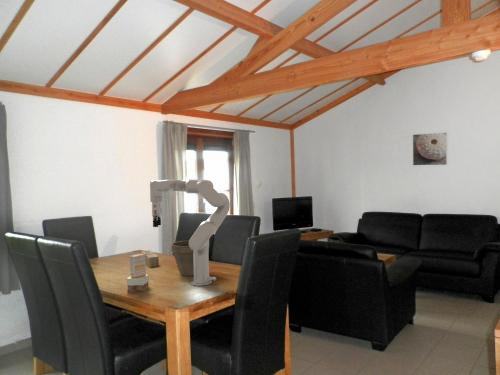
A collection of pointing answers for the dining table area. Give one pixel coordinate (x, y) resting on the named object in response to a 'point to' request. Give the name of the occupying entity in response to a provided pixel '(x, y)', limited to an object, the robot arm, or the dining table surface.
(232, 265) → the dining table surface
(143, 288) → the tower bottom block
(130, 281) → the tower top block
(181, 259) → the plant pot
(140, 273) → the supplement box
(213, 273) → the dining table surface
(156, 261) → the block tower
